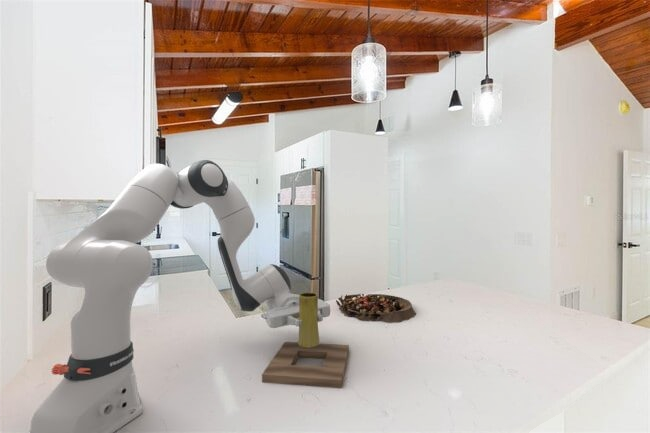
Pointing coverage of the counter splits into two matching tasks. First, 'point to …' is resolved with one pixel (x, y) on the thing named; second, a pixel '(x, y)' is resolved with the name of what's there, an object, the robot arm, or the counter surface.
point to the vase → (308, 320)
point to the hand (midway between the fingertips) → (310, 321)
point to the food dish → (376, 308)
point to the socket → (323, 376)
